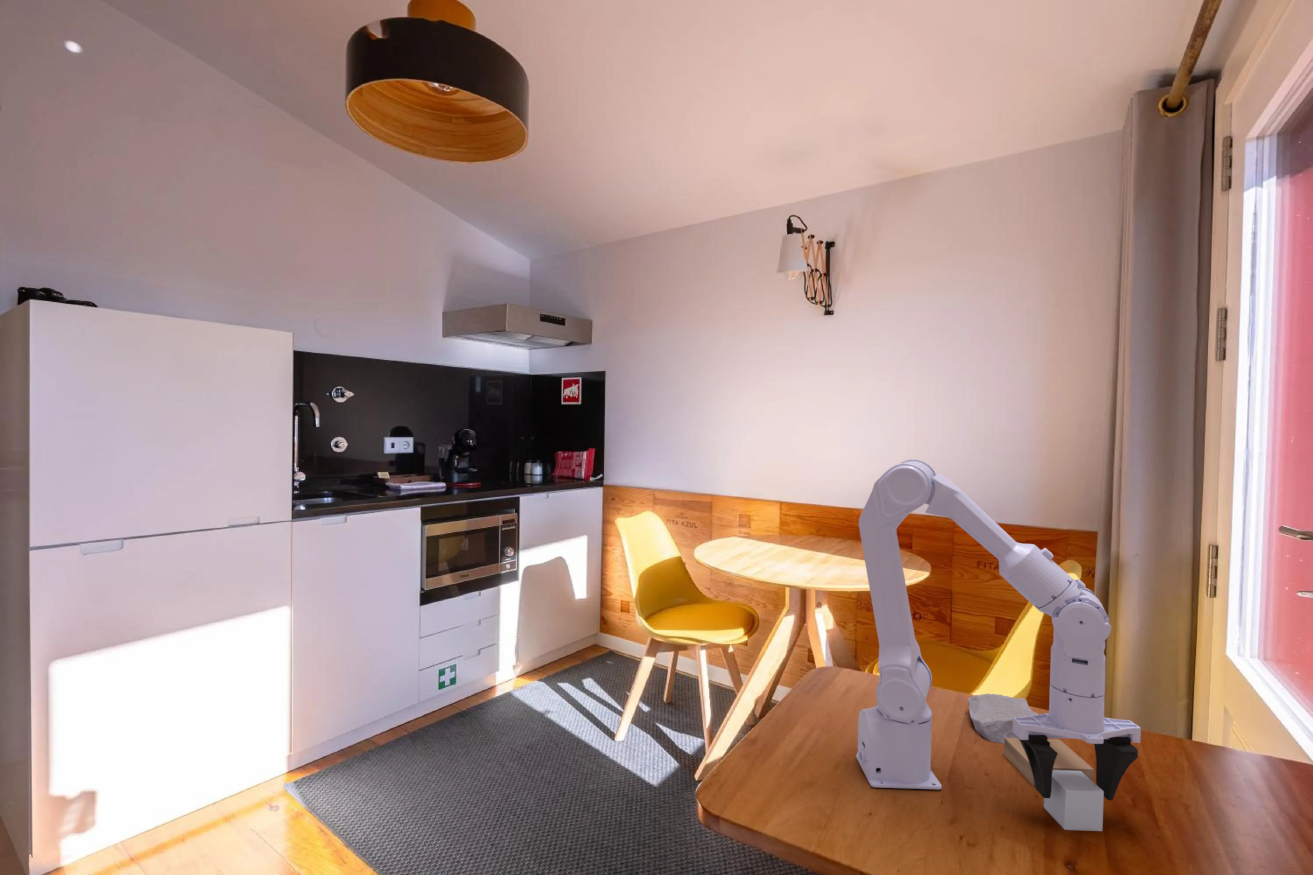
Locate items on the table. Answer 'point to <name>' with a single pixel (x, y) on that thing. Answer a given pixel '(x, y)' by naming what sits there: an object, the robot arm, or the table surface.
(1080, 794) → the light grey block
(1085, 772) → the tan square block
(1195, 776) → the table surface
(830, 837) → the table surface
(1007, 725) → the stone block
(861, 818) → the table surface
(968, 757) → the table surface
